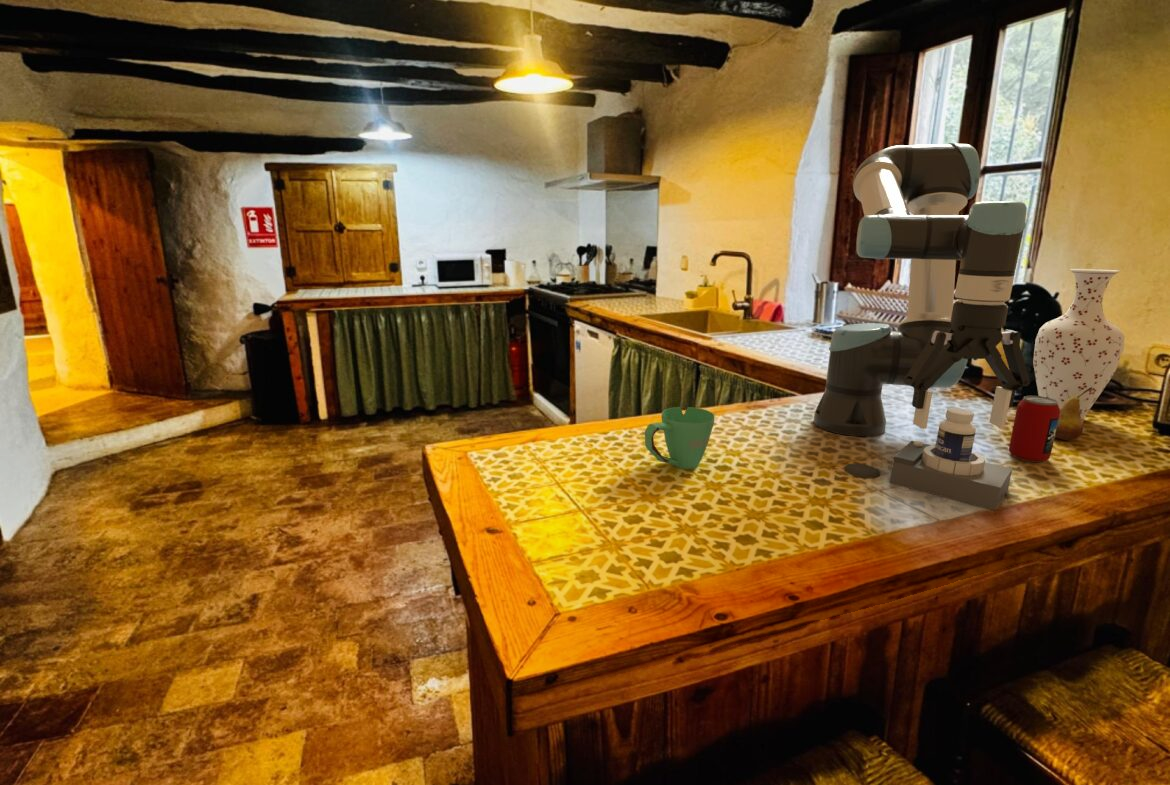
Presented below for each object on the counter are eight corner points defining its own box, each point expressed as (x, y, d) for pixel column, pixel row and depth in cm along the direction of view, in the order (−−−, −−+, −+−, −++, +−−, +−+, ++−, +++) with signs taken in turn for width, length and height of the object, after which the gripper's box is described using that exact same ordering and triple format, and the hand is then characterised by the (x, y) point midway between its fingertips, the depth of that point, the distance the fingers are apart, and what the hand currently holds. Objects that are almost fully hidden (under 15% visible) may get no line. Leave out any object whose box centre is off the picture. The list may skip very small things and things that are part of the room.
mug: (686, 451, 121) (689, 404, 119) (722, 467, 113) (726, 416, 111) (629, 466, 113) (630, 416, 111) (663, 484, 106) (665, 430, 103)
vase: (1005, 411, 149) (1034, 268, 140) (1046, 405, 155) (1076, 267, 146) (1078, 431, 135) (1115, 273, 125) (1120, 423, 141) (1158, 271, 131)
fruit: (1060, 433, 133) (1071, 381, 130) (1086, 442, 128) (1099, 387, 125) (1040, 435, 132) (1051, 382, 129) (1066, 444, 126) (1079, 389, 123)
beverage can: (1056, 465, 115) (1070, 405, 112) (1017, 462, 117) (1029, 403, 113) (1038, 452, 122) (1050, 395, 118) (1001, 450, 123) (1012, 393, 120)
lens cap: (837, 471, 112) (837, 467, 112) (856, 465, 116) (856, 461, 115) (867, 482, 108) (867, 478, 107) (886, 475, 111) (886, 471, 111)
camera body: (889, 482, 107) (894, 451, 105) (907, 465, 115) (912, 435, 113) (995, 510, 96) (1003, 475, 95) (1008, 489, 104) (1014, 457, 103)
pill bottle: (925, 461, 106) (934, 408, 103) (946, 457, 108) (956, 405, 105) (953, 472, 101) (964, 416, 99) (975, 468, 103) (986, 413, 100)
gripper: (919, 305, 93) (899, 434, 99) (1074, 304, 94) (1045, 432, 100) (893, 298, 100) (875, 419, 106) (1038, 298, 101) (1012, 417, 107)
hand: (958, 425), depth 103 cm, fingers open, 13 cm apart
